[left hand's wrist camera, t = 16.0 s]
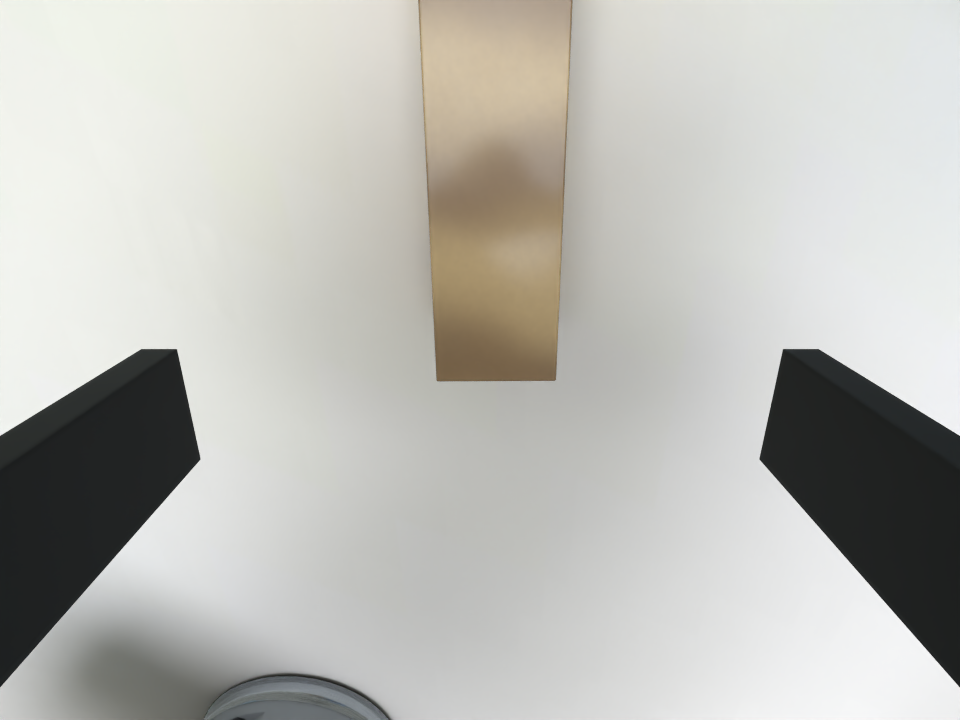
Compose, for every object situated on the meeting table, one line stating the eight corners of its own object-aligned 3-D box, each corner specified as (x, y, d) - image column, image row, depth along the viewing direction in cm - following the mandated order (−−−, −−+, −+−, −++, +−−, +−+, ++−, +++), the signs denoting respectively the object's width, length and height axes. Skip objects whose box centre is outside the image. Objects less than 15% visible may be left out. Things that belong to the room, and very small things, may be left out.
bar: (539, 317, 29) (556, 381, 22) (450, 317, 29) (436, 381, 22) (558, -321, 20) (598, -585, 13) (427, -317, 20) (390, -577, 13)
